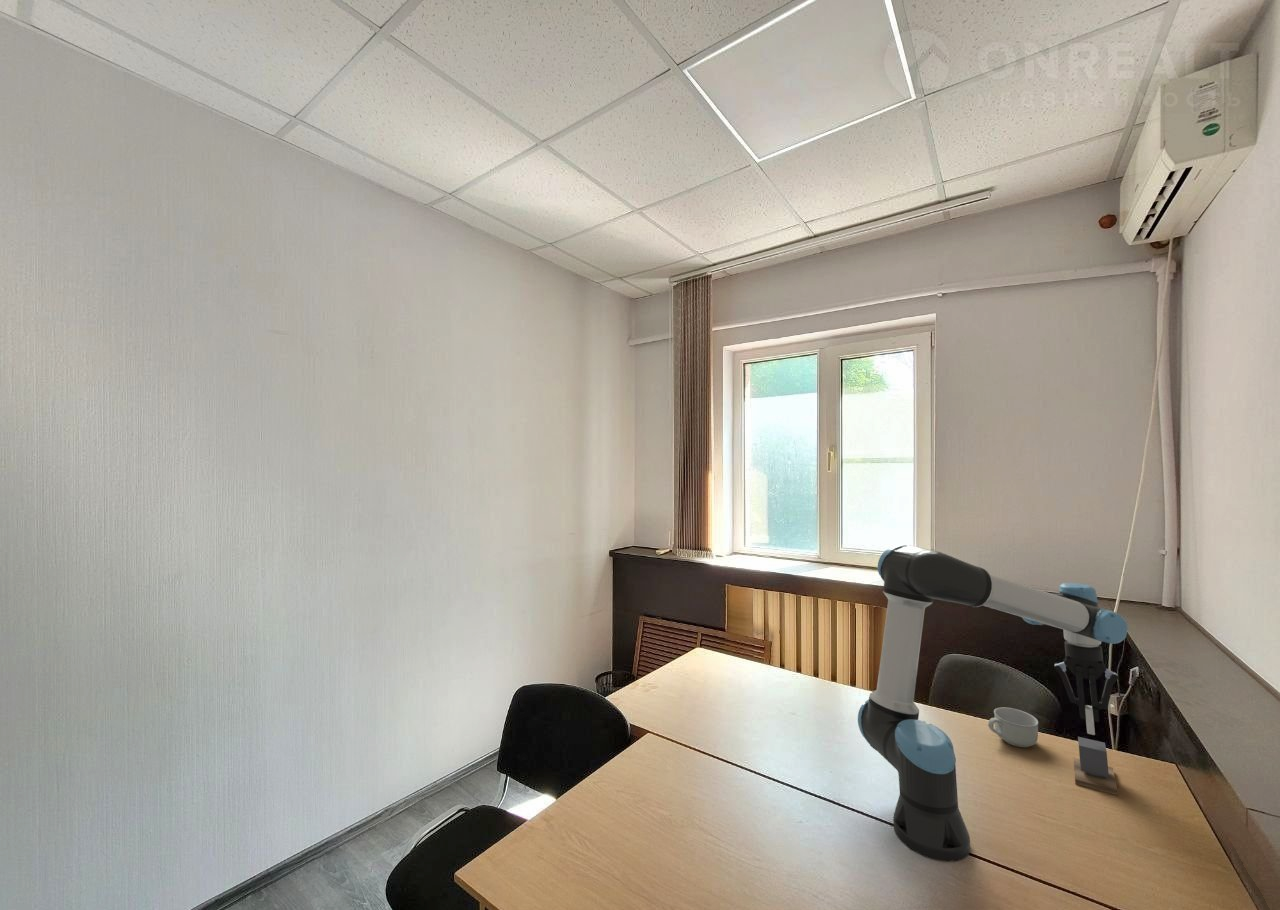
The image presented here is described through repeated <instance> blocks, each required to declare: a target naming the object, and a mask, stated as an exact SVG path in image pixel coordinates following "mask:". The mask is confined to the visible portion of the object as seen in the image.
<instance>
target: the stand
mask: <svg viewBox="0 0 1280 910" xmlns="http://www.w3.org/2000/svg"><path fill="white" fill-rule="evenodd" d="M1072 759H1073V769H1074V781H1075V782H1074V783H1075V784H1074V785H1077V786H1078V785H1079V786H1083V787H1085V788H1089V789H1093V790H1097V791H1100V792H1104V793H1107V794H1112V795H1114V796H1119V793H1118V792H1119V791H1118V787H1117V782H1116V777H1115V770H1114V767H1111V766H1108V772H1109V778H1107V777H1103V776H1099V775H1095V774H1091V773H1087V772H1084V771H1081V766H1080V758H1074V757H1073V758H1072Z"/></svg>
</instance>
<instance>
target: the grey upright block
mask: <svg viewBox="0 0 1280 910" xmlns="http://www.w3.org/2000/svg"><path fill="white" fill-rule="evenodd" d="M1077 740H1078V741H1077V742H1078V743H1077V744H1078V755H1079V759H1080V766H1081V771H1084V772H1087V773H1091V774H1095V775H1099V776H1103V777H1107V778H1109V772H1108V767H1109V765H1108V763H1109V762H1108V751H1107V747H1106V742H1104V741H1103V742H1102V741H1099V740H1096V739H1095V740H1094V739H1089V738H1086V737H1082V736H1081V737H1080V736H1077Z"/></svg>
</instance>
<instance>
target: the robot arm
mask: <svg viewBox="0 0 1280 910" xmlns="http://www.w3.org/2000/svg"><path fill="white" fill-rule="evenodd" d="M877 572H878V574H879V576H880V578H881V580H882V581H883V589H882V593H883V594H884V596H885V597H886V598H887V607H886V613H885V614H886V615H885V624H884V631H883V638H882V645H881V653H880V659H879V669H878V677H877V685H876V690H873V691H872V692H870V693H869V696H868V699H867V700H866V701H864V702H865V703H864V704H862V705H860V708H859V710H858V714H857V724H858V729H859V731H860V733H861V735H862V737H863V738H864V739H865V740H866V742H867V743H868V744H869V745H870V747H871V748H872V749H873V750H875V751H877V753H879V754H880V756H882V757H883V758H884V759H885V760H886V761H887V762H888V763H889V764H890V765H891V766H892V767H893V768H894V769H895V770H896V771H897V773H898V786H899V796H898V798H897V799H898V800H897V802H896V805H895V809H894V812H893V816H892V819H893V820H892V822H893V830H894V832H895V834H896V835H895V836H897V838H898V839H899V840H900V841H901V842H902V843H903V844H904V845H905V846H906V847H907V848H909V849H910V850H912V851H913V852H915V853H918V854H919V855H922V856H924V857H926V858H929V859H932V860H935V861H942V862H958V861H962V860H963V859H965V858H967V857H968V856H969V854H970V853H971V839H970V838H971V837H970V833H969V830H968V829H967V826H966V824H965V821H964V819H963V816H962V813H961V811H960V809H959V799H958V788H957V787H958V782H957V770H956V767H957V766H956V765H957V764H956V761H957V758H956V754H955V749H954V745H953V742H952V739H951V738H950V737H949V736H948V734H947V733H946V732H944V730H942V729H941V728H939V727H938V726H936V725H934V724H932V723H927V722H926V721H924V720H920V719H919V717H920V708H919V707H918V706H917V704H916V703H915V701H914V700H915V692H916V691H915V690H916V684H917V676H918V668H919V660H920V659H919V658H920V650H921V642H922V634H923V627H924V626H923V625H924V620H925V619H924V617H925V613H926V612H925V611H926V610H925V609H926V608H927V607H929V606H931V605H932V604H933V602H934V599H935V600H939V601H944V602H952V603H955V604H960V605H961V604H962V605H965V606H969V607H972V608H979V607H982V606H983V607H987V608H989V609H992V610H993V609H994V610H997V611H1000V612H1004V613H1008V614H1010V615H1014V616H1018V617H1020V618H1022V620H1023V621H1024V622H1026V623H1028V624H1030V625H1036V626H1037V625H1039V626H1044V625H1047V626H1051V627H1054V628H1056V629H1057V628H1058V629H1060V630H1063V638H1064V640H1065V641H1064V651H1065V652H1064V653H1065V657H1064V658H1063V661H1062V662H1059V663H1058V662H1054V669H1055V671H1056V672H1057V673H1058V674H1059V676H1060V678H1061V680H1062V681H1061V682H1062V683H1063V686H1064V688H1065V691H1066V694H1067V697H1068V700H1069V701H1070V703H1072V704H1075V705H1077V706H1078V707H1079V708H1078V709H1079V716H1080V719H1081V720H1085V725H1086V733H1087V734H1088V735H1092V736H1095V735H1096V731H1095V723H1099V722H1100V712H1099V711H1100V710H1108V708H1109V703H1110V699H1111V695H1112V692H1113V687H1114V684H1115V683H1116V682H1117V681H1118V680H1119V675H1118V673H1117V672H1116V671H1112V670H1110V669H1108V668H1107V665H1106V664H1105V662H1104V655H1103V647H1102V645H1101V644H1102V642H1103V643H1107V644H1112V645H1113V644H1114V645H1116V644H1119V643H1121V642H1123V641H1124V640H1125V639H1126V637H1127V634H1128V630H1129V629H1128V628H1129V627H1128V623H1127V621H1126V619H1125V618H1124V617H1123V616H1122V615H1121V614H1120V613H1117V612H1115V611H1111V610H1109V609H1106V608H1101V607H1099V601H1098V596H1097V590H1096V589H1095V587H1093V586H1091V585H1088V584H1083V583H1074V582H1071V583H1070V582H1065V583H1062V584H1060V585H1059V590H1058V592H1056V593H1051V592H1047V591H1044V590H1041V589H1037V588H1034V587H1030V586H1028V585H1025V584H1021V583H1018V582H1015V581H1012V580H1009V579H1006V578H1001V577H998V576H995V575H992V574H990V572H989V571H988V570H987V569H986V568H984V567H979V566H978V565H974V564H971V563H968V562H966V561H964V560H960V559H958V558H957V557H954V556H952V555H948V554H946V553H943V552H941V551H937V550H932V549H926V548H922V547H919V546H918V547H917V546H915V545H914V546H913V545H911V544H896V545H892V546H890V547H889V548H887V549H885V550H884V551H883V552H882V554H881V555H880V557H879V558H878V562H877ZM1066 667H1067V668H1066ZM1067 669H1069V671H1070V672H1071V673H1072V674H1073V675H1074V676H1075V677H1076V686H1077V688H1076V689H1077V696H1078V698H1077V697H1076V696H1075V693H1074V691H1073V688H1072V685H1071V682H1070V680H1069V677H1068V675H1067ZM1103 674H1105V675H1104V676H1105V684H1104V687H1103V690H1102V695H1101V699H1100V701H1098V693H1097V692H1098V691H1097V680H1098V679H1099V678H1100V677H1101V676H1102V675H1103ZM1084 679H1087V680H1089V692H1090V699H1091V700H1090V701H1091V705H1088V704H1086V701H1085V690H1084V689H1085V687H1084Z"/></svg>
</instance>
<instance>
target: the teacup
mask: <svg viewBox="0 0 1280 910" xmlns="http://www.w3.org/2000/svg"><path fill="white" fill-rule="evenodd" d="M993 714H994V717H991V718H990V719H989V720H988V722H987V723H988V724H987V726H988V728H989V729H990V731H992V733H994V734H996V735H997V736H998V737H999V738H1001V739H1002V740H1003V741H1004V742H1005V743H1007V744H1009V745H1011V746H1015V747H1017V748H1018V747H1019V748H1029V747H1031V746H1034V745H1035V744H1037V742H1038V738H1039V720H1038V719H1037V718H1036V717H1035V716H1034V715H1032V714H1031V713H1028V712H1025V711H1023V710H1020V709H1017V708H1013V707H1004V706H1003V707H997V708H995V709H994V710H993ZM994 727H995V728H994Z"/></svg>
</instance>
